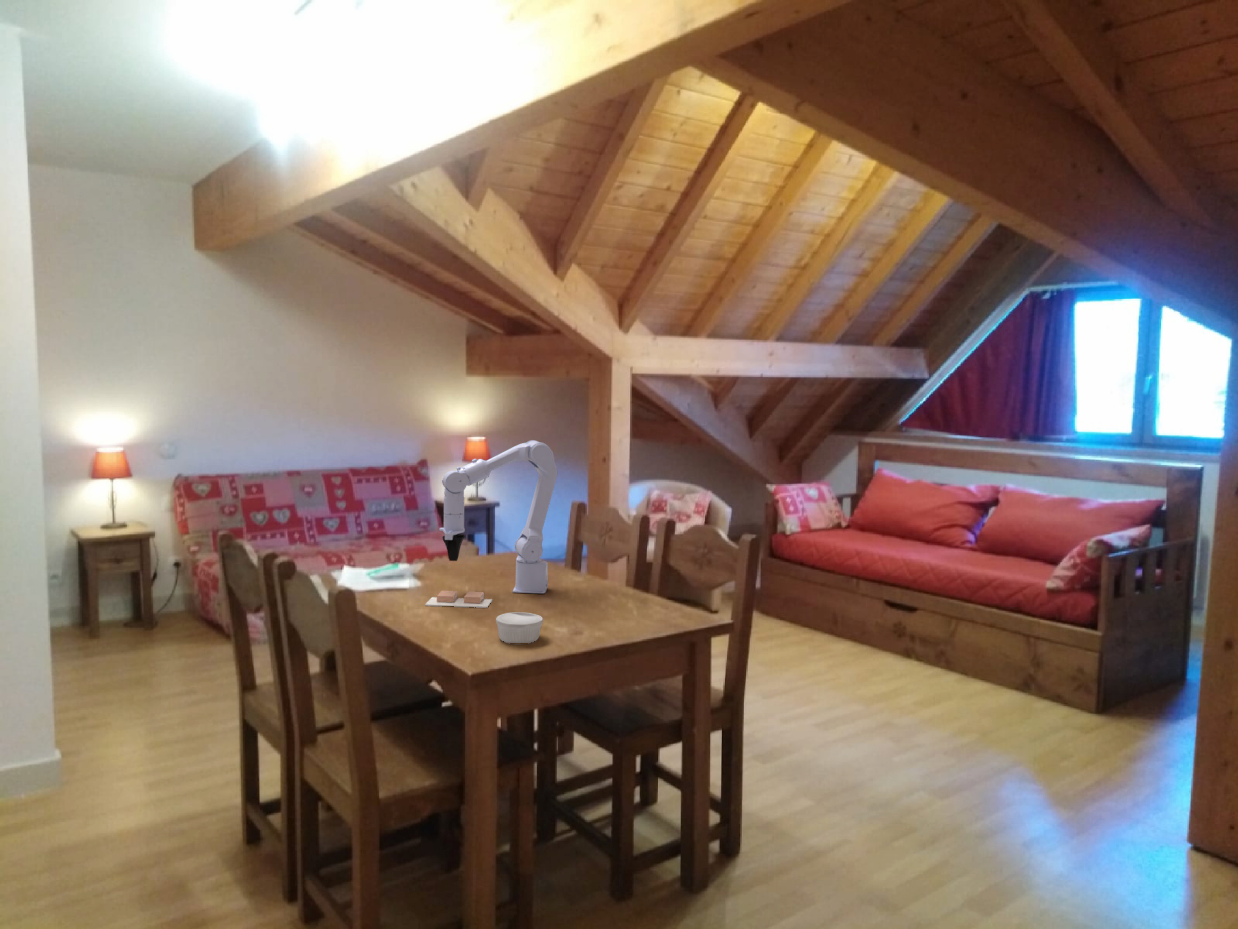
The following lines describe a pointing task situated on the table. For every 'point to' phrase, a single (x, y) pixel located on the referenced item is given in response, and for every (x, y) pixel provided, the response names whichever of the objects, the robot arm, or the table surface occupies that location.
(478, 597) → the tile
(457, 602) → the felt mat
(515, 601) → the table surface
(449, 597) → the tile
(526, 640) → the ramekin
